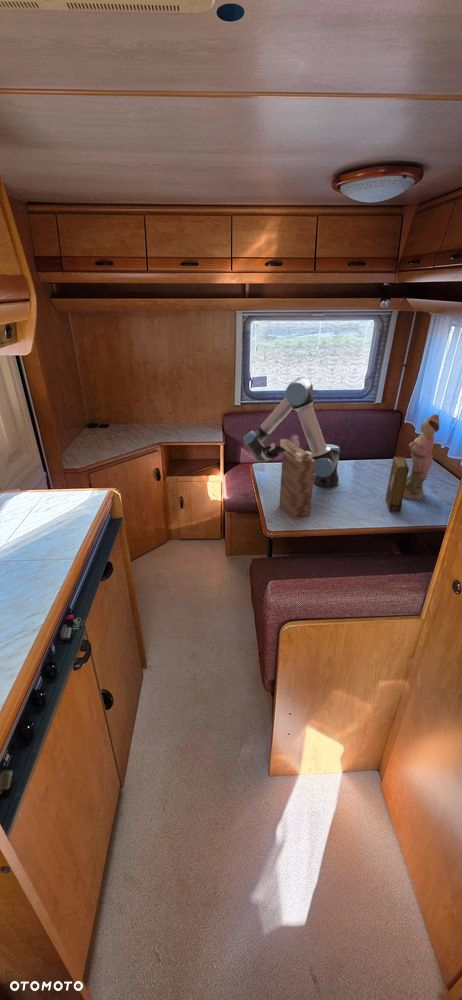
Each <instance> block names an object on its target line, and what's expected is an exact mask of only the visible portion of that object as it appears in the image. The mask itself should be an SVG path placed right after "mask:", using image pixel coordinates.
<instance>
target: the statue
mask: <svg viewBox="0 0 462 1000" xmlns="http://www.w3.org/2000/svg"><path fill="white" fill-rule="evenodd" d="M440 426H441V425H440V416H439V415H438V414H431V415H430V416H429V417H427V418H425V419H424V420H423V422H422V423H421V424H420V431H421V434H420V435H419V436H418V437H417V438H415V439H414V441H411V442H409V444H408V447H409V449H410V456H411V458H412V460H411V461H412V467H411V471H410V475H408V476H407V481H406V486H405V491H404V495H403V499H405V498H407V500H413V499H416V500H420V498H421V499H422V498H423V497H424V493H425V492H424V489H423V487H424V486H423V484H424V482H425V480H426V479H427V476H428V474H429V472H430V469H431V466H432V463H433V458H434V455H433V448H434V444H435V433H437V432H438V431H439V430H440Z"/></svg>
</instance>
